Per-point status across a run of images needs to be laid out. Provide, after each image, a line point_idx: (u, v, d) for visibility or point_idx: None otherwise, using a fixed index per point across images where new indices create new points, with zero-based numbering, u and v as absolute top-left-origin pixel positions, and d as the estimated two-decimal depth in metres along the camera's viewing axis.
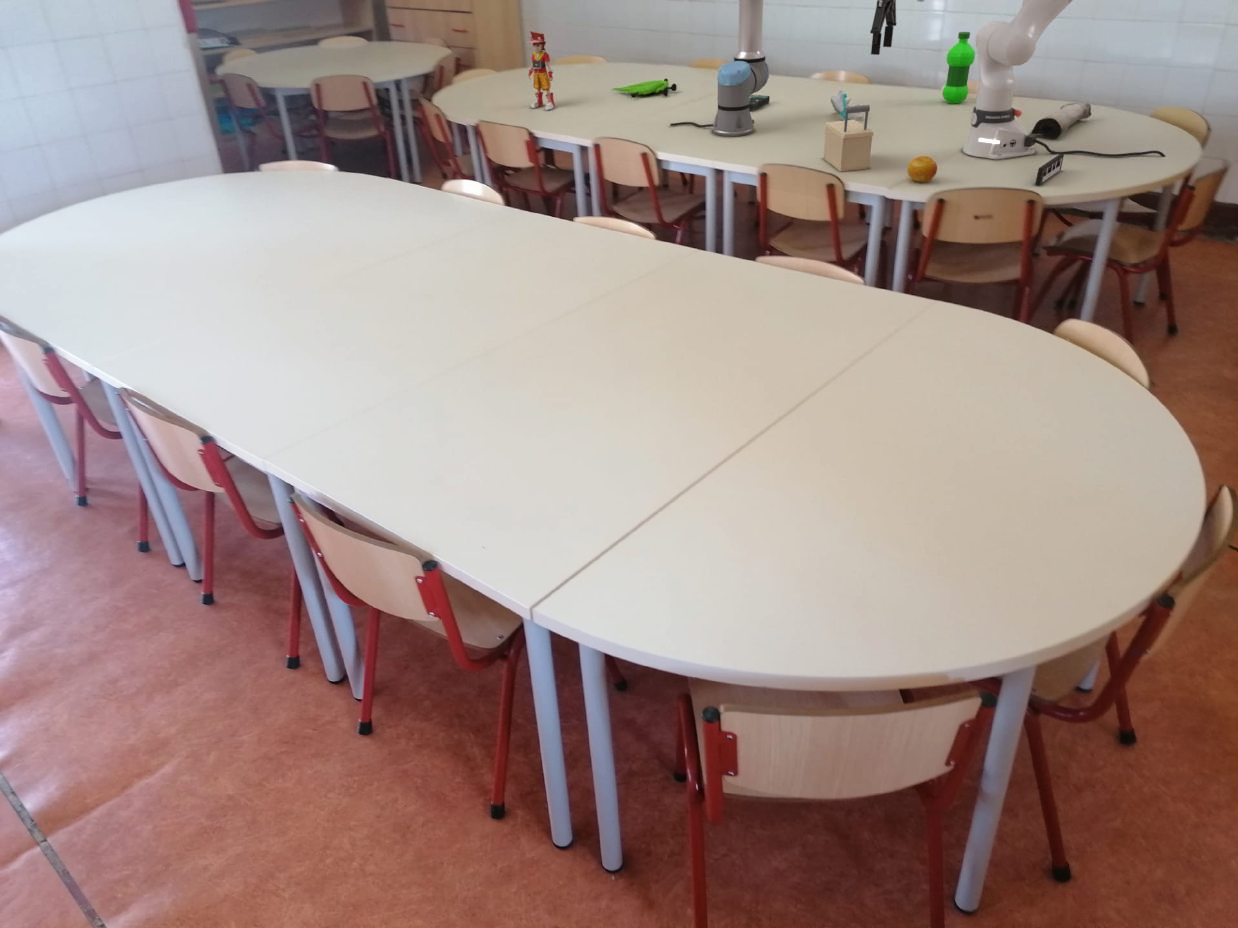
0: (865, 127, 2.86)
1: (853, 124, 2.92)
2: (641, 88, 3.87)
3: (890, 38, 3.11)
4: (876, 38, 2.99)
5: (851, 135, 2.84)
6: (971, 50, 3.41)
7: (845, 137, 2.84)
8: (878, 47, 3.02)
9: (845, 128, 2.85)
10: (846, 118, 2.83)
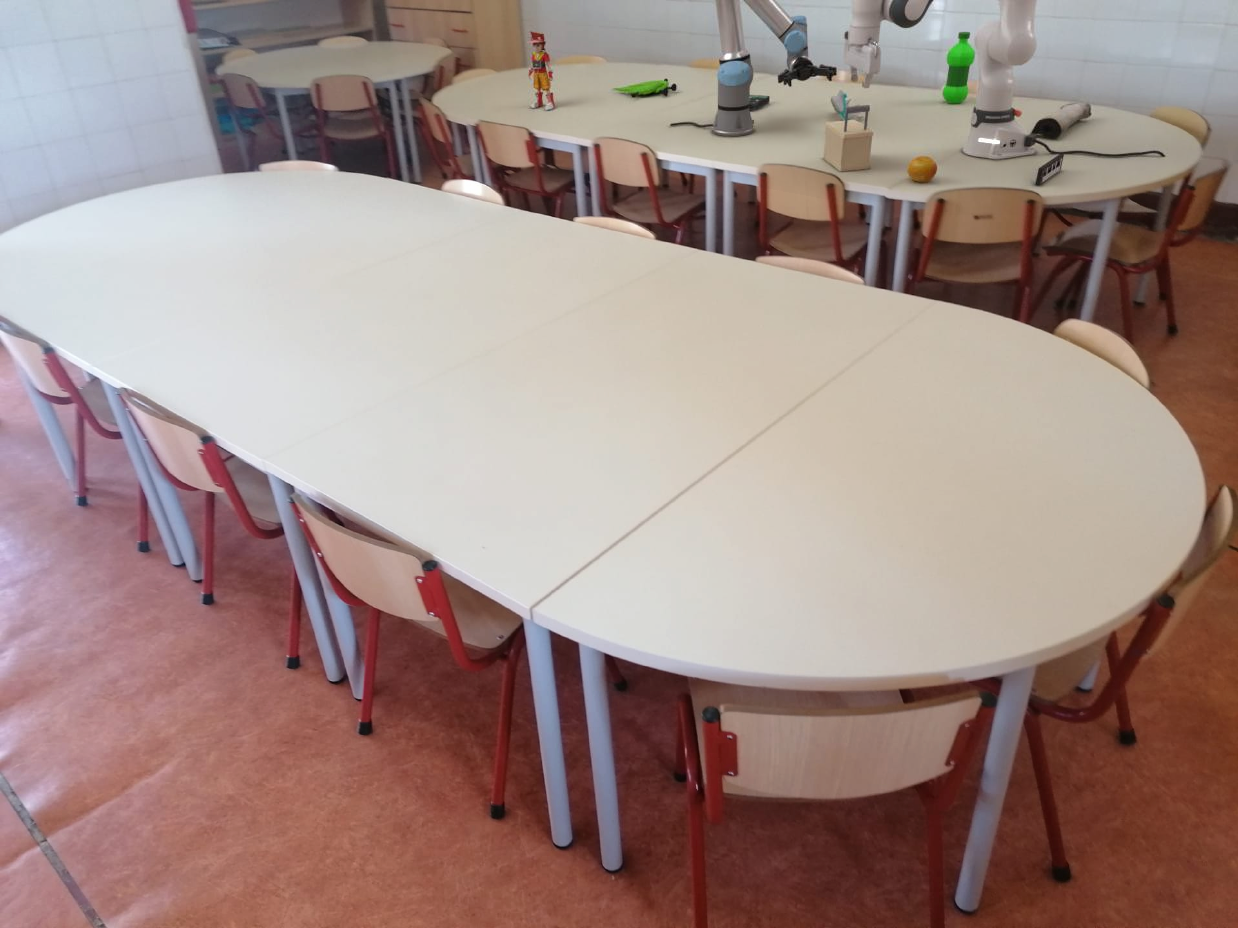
0: (865, 127, 2.86)
1: (853, 124, 2.92)
2: (641, 88, 3.87)
3: None
4: None
5: (851, 135, 2.84)
6: (971, 50, 3.41)
7: (845, 137, 2.84)
8: None
9: (845, 128, 2.85)
10: (846, 118, 2.83)
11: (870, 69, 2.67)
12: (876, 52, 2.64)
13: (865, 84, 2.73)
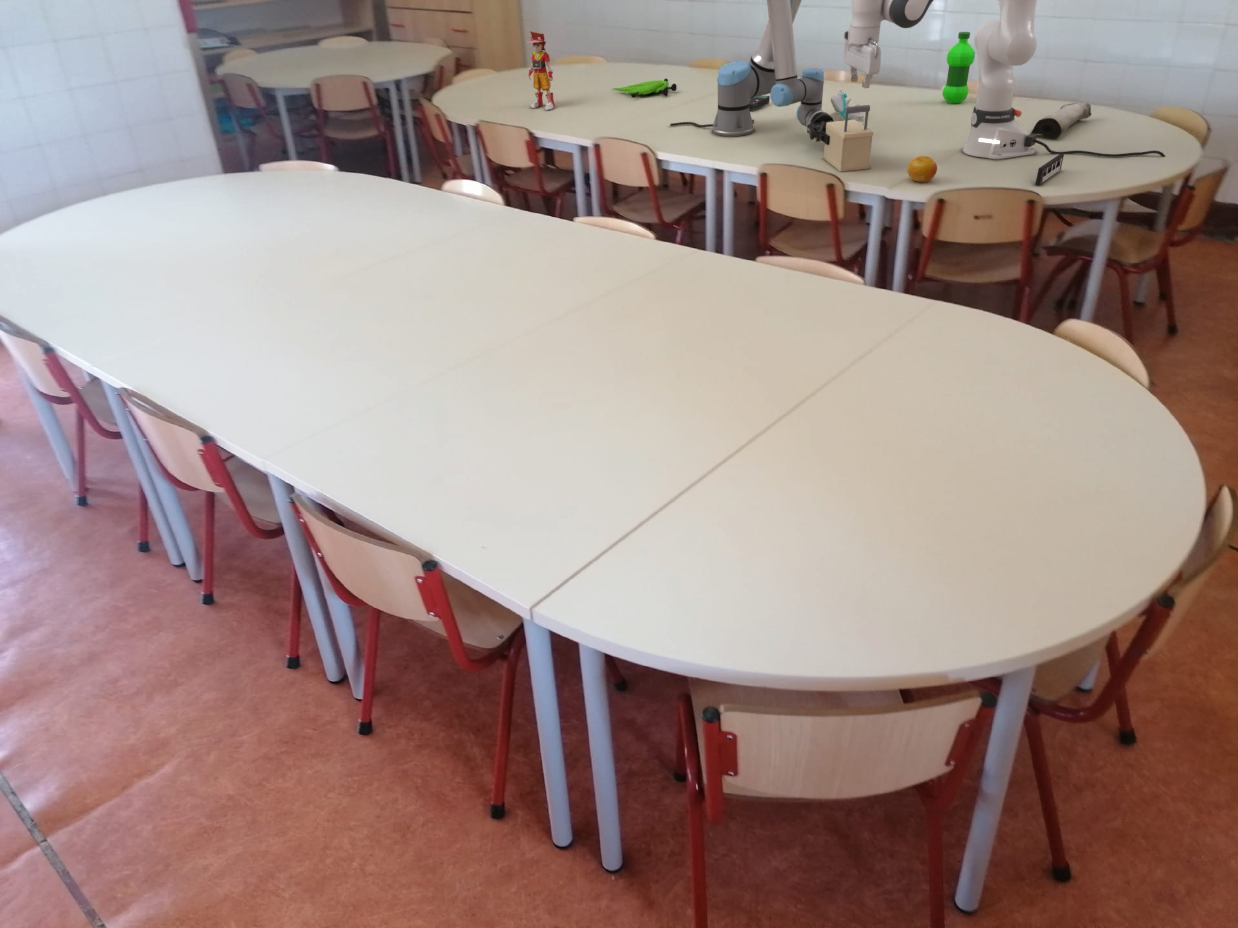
0: (865, 127, 2.86)
1: (853, 124, 2.92)
2: (641, 88, 3.87)
3: None
4: None
5: (851, 135, 2.84)
6: (971, 50, 3.41)
7: (845, 137, 2.84)
8: None
9: (845, 128, 2.85)
10: (846, 118, 2.83)
11: (870, 69, 2.67)
12: (876, 52, 2.64)
13: (865, 84, 2.73)
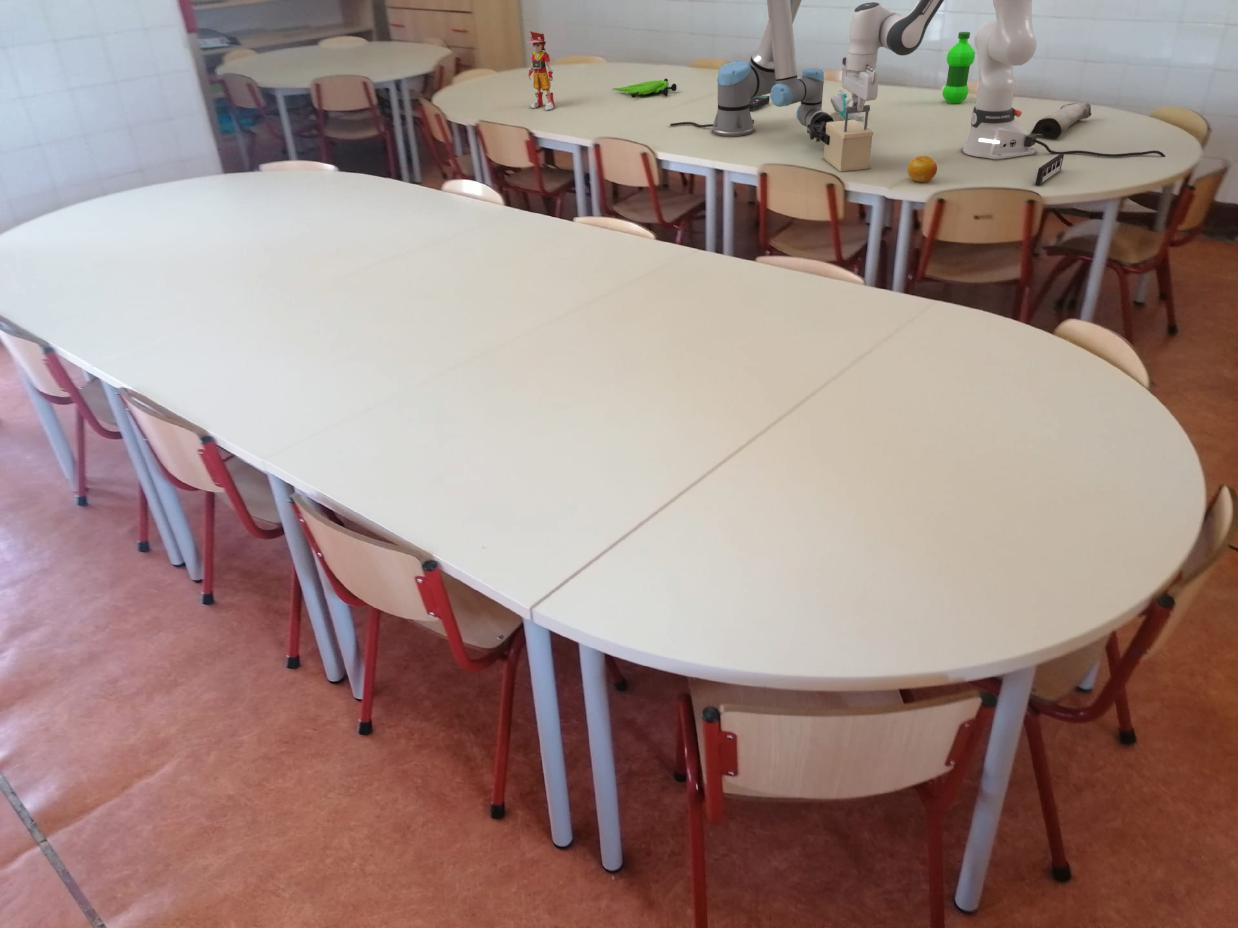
0: (865, 127, 2.86)
1: (853, 124, 2.92)
2: (641, 88, 3.87)
3: None
4: None
5: (851, 135, 2.84)
6: (971, 50, 3.41)
7: (845, 137, 2.84)
8: None
9: (845, 128, 2.85)
10: (846, 118, 2.83)
11: (867, 95, 2.71)
12: (873, 79, 2.68)
13: (859, 107, 2.80)
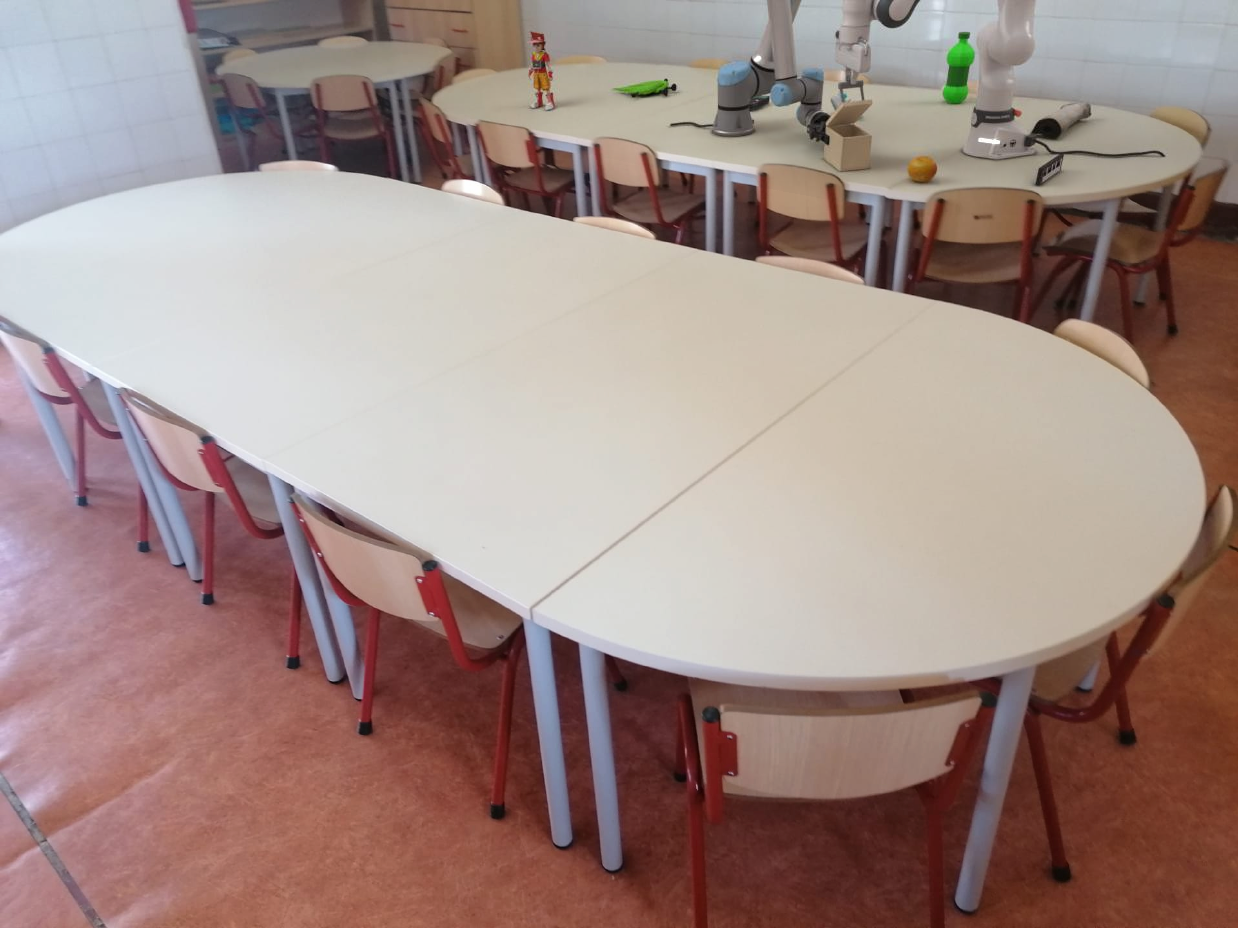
0: None
1: None
2: (641, 88, 3.87)
3: None
4: None
5: (850, 103, 2.81)
6: (971, 50, 3.41)
7: (844, 105, 2.81)
8: None
9: (843, 102, 2.84)
10: (841, 92, 2.84)
11: (860, 67, 2.73)
12: (866, 50, 2.70)
13: (852, 80, 2.82)
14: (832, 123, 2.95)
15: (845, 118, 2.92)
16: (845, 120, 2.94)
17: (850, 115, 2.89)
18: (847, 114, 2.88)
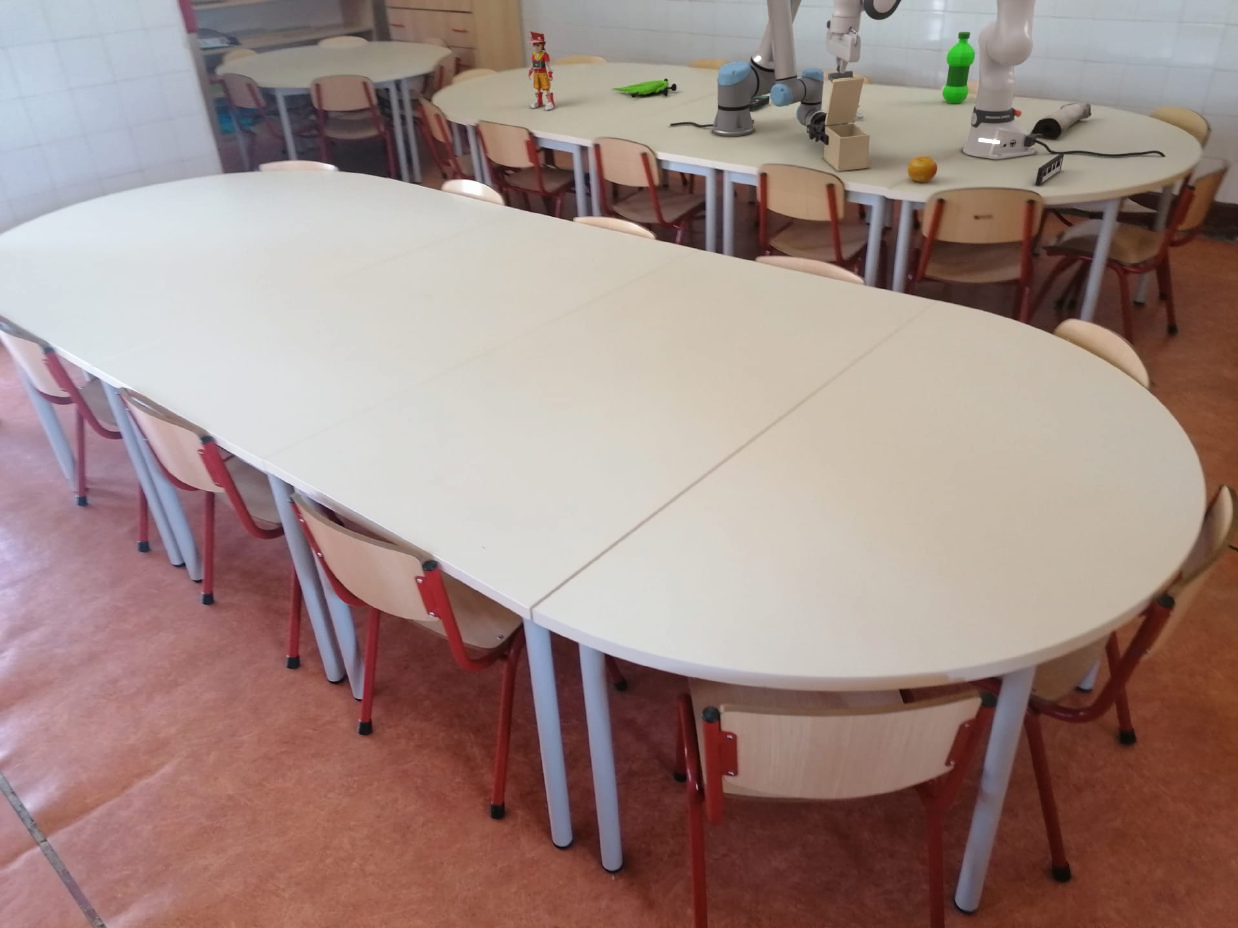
0: None
1: None
2: (641, 88, 3.87)
3: None
4: None
5: (840, 80, 2.84)
6: (971, 50, 3.41)
7: (835, 81, 2.84)
8: None
9: None
10: (832, 80, 2.89)
11: (850, 57, 2.78)
12: (856, 41, 2.76)
13: (841, 70, 2.88)
14: (831, 119, 2.95)
15: (842, 109, 2.92)
16: (843, 114, 2.94)
17: (845, 102, 2.90)
18: (842, 100, 2.89)
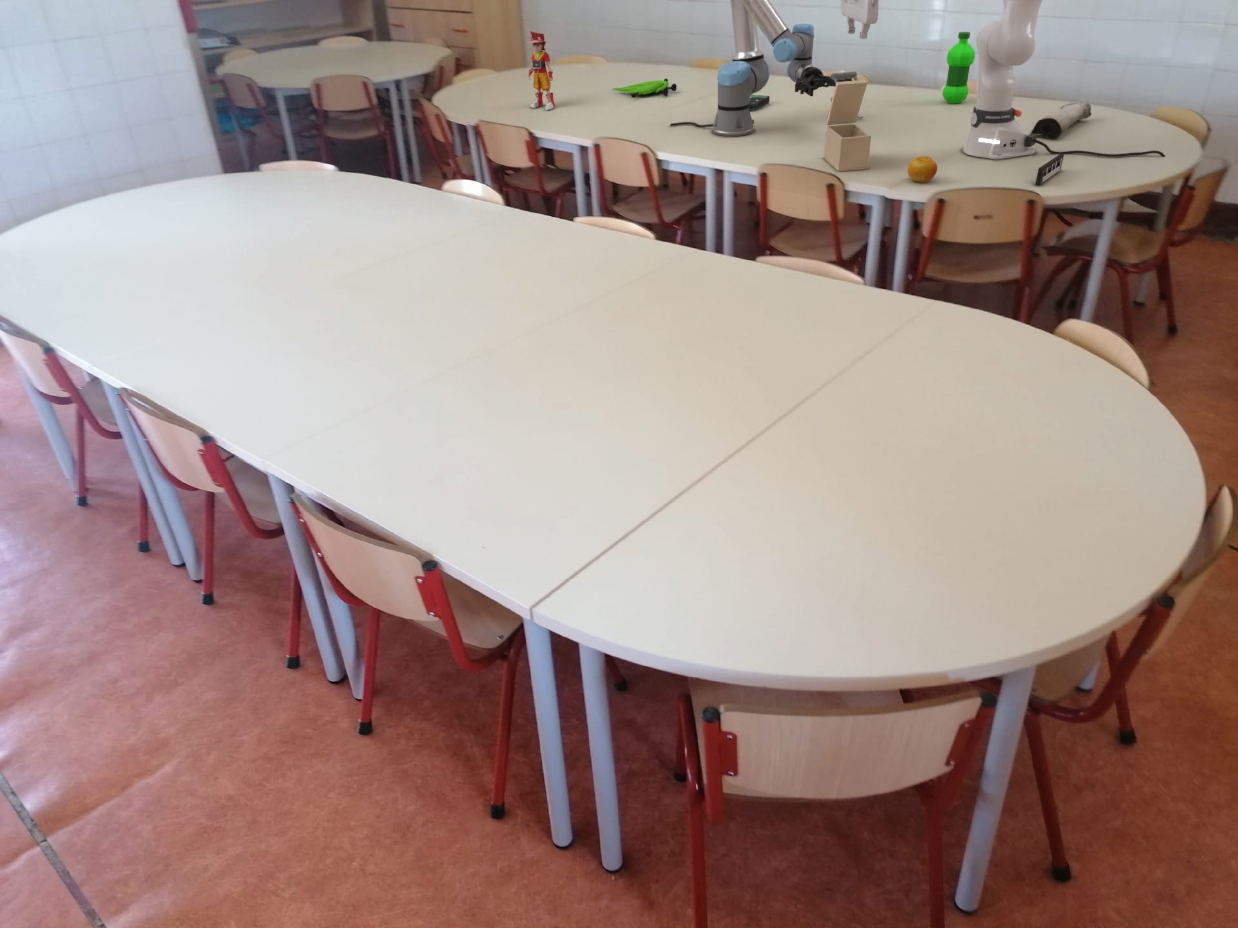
0: None
1: None
2: (641, 88, 3.87)
3: None
4: None
5: (844, 82, 2.83)
6: (971, 50, 3.41)
7: (838, 84, 2.83)
8: None
9: None
10: (835, 80, 2.88)
11: (867, 18, 2.63)
12: (874, 0, 2.61)
13: (863, 35, 2.70)
14: (832, 120, 2.95)
15: (844, 111, 2.92)
16: (845, 115, 2.94)
17: (848, 103, 2.90)
18: (845, 101, 2.89)
